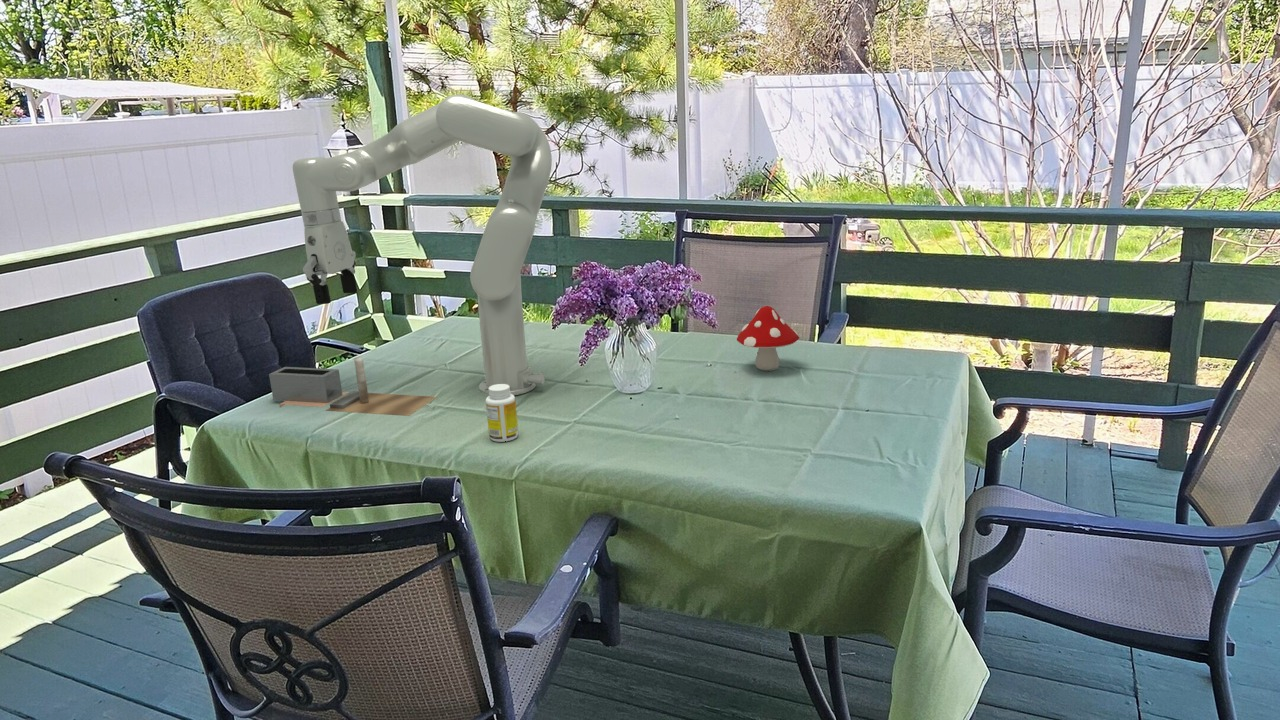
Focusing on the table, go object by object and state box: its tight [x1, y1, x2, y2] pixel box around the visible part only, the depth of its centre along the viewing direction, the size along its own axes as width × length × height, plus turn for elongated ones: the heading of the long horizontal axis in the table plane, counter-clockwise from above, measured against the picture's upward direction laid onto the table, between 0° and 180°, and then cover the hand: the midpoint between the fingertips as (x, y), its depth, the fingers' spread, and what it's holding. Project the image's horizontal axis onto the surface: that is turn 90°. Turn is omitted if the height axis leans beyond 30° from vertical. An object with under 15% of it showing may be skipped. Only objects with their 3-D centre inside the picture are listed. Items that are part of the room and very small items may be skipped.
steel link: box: [268, 366, 343, 404], centre depth 197 cm, size 14×5×6 cm, turn 74°
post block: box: [325, 356, 438, 417], centre depth 191 cm, size 20×12×11 cm, turn 73°
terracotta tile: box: [279, 390, 350, 408], centre depth 198 cm, size 11×10×1 cm
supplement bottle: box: [485, 384, 519, 443], centre depth 170 cm, size 6×6×10 cm
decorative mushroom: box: [736, 305, 800, 372], centre depth 203 cm, size 14×14×15 cm
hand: (337, 297), depth 192 cm, fingers open, 9 cm apart
